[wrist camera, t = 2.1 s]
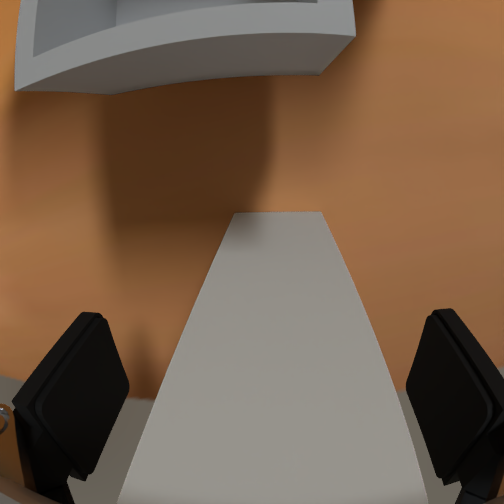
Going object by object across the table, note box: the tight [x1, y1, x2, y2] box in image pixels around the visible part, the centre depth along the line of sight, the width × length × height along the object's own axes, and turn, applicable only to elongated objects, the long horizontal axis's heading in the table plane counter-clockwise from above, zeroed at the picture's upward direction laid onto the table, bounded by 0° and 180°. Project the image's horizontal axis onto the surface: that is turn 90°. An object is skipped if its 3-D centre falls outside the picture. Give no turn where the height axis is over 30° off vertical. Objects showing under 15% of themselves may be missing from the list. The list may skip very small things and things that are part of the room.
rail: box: [117, 212, 429, 504], centre depth 9 cm, size 4×4×14 cm
